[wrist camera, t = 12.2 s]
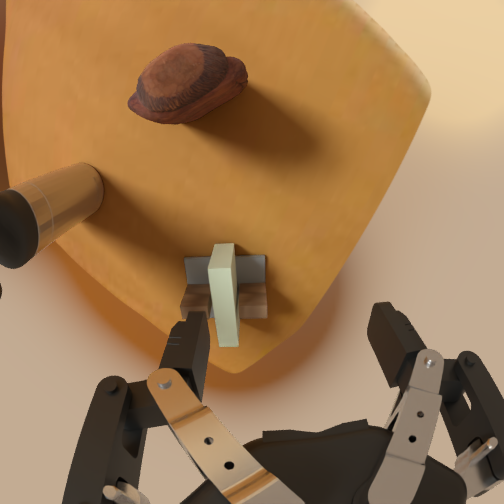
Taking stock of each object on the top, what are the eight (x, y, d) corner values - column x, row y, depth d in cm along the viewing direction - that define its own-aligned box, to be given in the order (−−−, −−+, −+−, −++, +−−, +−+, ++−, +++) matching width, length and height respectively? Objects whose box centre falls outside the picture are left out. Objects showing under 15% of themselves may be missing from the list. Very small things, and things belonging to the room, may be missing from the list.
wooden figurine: (229, 57, 32) (214, 8, 15) (251, 92, 34) (252, 64, 18) (158, 99, 34) (96, 85, 18) (179, 134, 36) (127, 141, 20)
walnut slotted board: (189, 295, 47) (182, 319, 41) (187, 284, 46) (179, 306, 40) (265, 294, 47) (267, 318, 41) (265, 282, 46) (267, 305, 40)
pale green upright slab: (223, 315, 49) (219, 346, 42) (214, 244, 43) (207, 268, 36) (240, 315, 49) (238, 346, 42) (233, 243, 43) (230, 268, 36)
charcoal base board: (194, 315, 50) (193, 317, 49) (184, 257, 45) (183, 258, 44) (265, 314, 50) (265, 316, 49) (264, 254, 44) (265, 256, 44)
